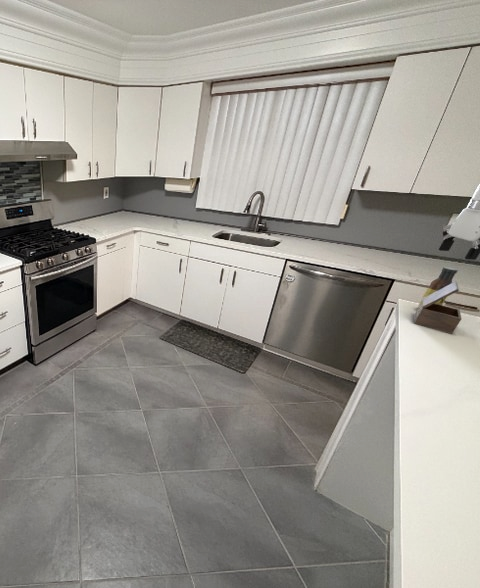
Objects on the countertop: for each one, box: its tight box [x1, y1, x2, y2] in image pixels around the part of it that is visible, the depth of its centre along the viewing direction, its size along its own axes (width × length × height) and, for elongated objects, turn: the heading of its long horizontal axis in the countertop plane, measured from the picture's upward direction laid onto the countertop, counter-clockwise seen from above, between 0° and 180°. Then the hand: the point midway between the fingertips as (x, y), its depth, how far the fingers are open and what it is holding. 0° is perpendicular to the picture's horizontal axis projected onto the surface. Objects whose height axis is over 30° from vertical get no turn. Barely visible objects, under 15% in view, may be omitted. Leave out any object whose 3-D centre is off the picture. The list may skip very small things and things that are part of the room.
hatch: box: [421, 281, 460, 308], centre depth 119 cm, size 11×10×1 cm
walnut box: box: [413, 303, 462, 335], centre depth 121 cm, size 10×10×7 cm
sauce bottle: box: [416, 266, 459, 311], centre depth 127 cm, size 7×6×20 cm
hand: (456, 254), depth 111 cm, fingers open, 9 cm apart
